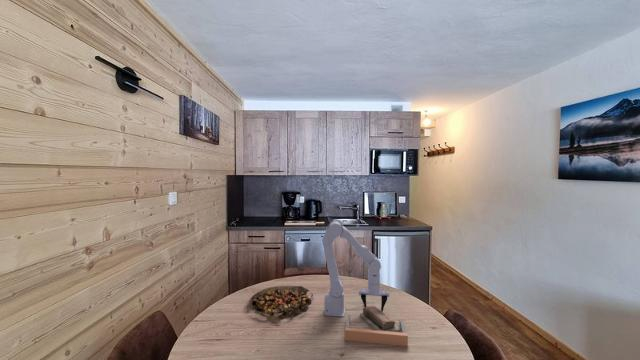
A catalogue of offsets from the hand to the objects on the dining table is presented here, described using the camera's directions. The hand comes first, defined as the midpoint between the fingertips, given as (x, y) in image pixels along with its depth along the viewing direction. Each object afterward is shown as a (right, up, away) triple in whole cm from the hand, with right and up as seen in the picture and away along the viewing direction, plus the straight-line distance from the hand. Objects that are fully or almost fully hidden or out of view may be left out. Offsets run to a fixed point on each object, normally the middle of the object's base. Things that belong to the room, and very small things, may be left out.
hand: (373, 310), depth 131 cm
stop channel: (-2, -1, -15) cm, 15 cm away
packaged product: (+1, -2, -9) cm, 9 cm away
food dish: (-46, -2, +11) cm, 47 cm away
